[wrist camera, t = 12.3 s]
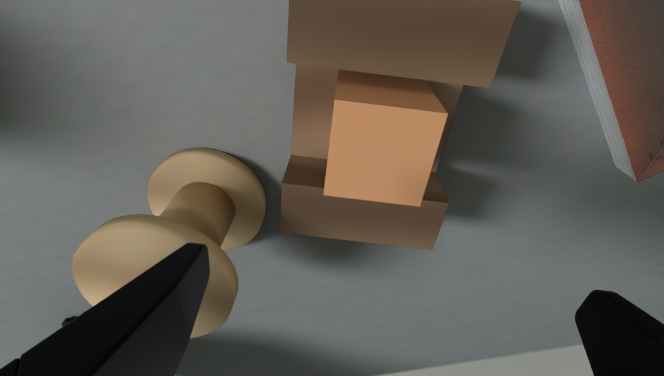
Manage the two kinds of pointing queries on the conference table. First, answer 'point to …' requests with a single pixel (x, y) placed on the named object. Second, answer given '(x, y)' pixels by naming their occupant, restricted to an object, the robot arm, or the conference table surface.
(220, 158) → the spool
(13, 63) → the conference table surface
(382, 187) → the light brown wooden block
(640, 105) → the picture frame
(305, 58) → the notch board
